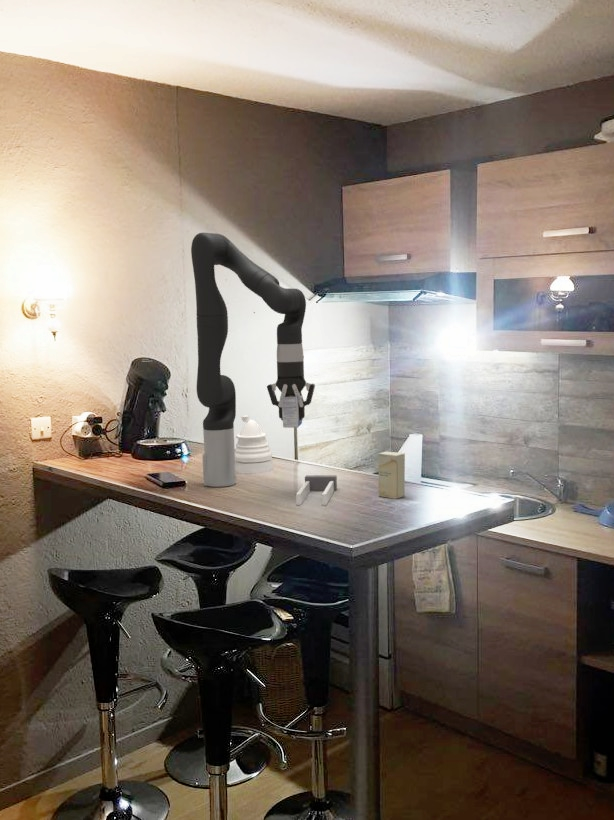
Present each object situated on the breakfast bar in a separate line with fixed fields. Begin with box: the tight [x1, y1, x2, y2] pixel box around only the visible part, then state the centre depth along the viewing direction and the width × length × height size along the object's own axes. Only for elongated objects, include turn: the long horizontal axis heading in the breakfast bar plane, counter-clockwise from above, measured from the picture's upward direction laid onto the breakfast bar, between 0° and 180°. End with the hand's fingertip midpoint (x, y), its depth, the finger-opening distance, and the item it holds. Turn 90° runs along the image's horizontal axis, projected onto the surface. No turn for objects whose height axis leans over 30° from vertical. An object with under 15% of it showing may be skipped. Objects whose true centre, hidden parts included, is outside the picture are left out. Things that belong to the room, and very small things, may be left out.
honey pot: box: [235, 415, 273, 475], centre depth 278 cm, size 13×13×18 cm
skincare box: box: [378, 451, 406, 500], centre depth 232 cm, size 6×4×12 cm
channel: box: [296, 474, 338, 506], centre depth 236 cm, size 9×20×4 cm, turn 171°
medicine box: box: [282, 395, 303, 429], centre depth 239 cm, size 8×4×9 cm, turn 172°
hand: (292, 419), depth 239 cm, fingers closed on medicine box, 4 cm apart
